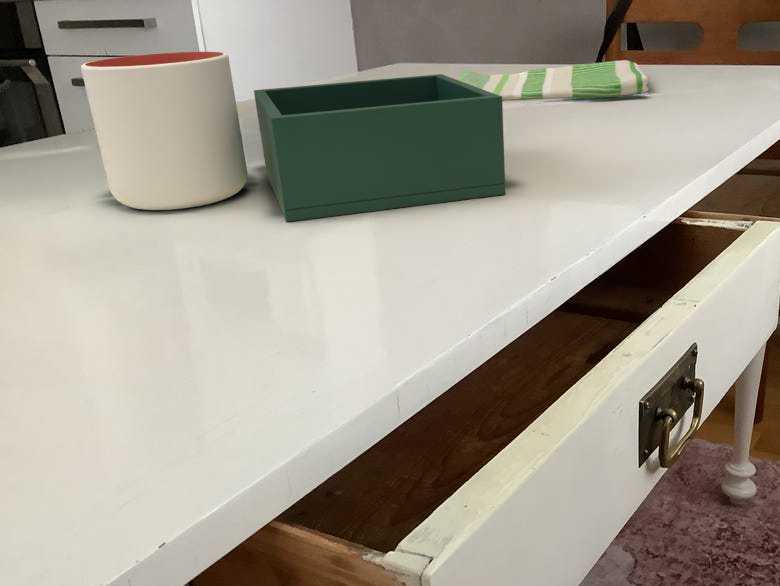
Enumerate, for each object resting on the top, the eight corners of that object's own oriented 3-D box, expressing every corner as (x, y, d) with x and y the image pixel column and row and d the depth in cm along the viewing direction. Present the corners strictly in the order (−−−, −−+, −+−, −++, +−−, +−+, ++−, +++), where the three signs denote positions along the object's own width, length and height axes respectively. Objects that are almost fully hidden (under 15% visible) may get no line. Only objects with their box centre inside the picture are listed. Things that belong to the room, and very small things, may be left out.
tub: (266, 175, 70) (253, 90, 67) (447, 155, 74) (442, 73, 71) (286, 222, 57) (270, 118, 54) (505, 194, 61) (502, 96, 58)
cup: (276, 191, 65) (255, 53, 60) (156, 222, 58) (123, 69, 54) (205, 176, 71) (181, 49, 67) (89, 202, 64) (55, 64, 60)
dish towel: (463, 86, 115) (461, 65, 114) (636, 80, 113) (637, 58, 112) (448, 107, 99) (446, 82, 98) (650, 100, 97) (651, 75, 96)
